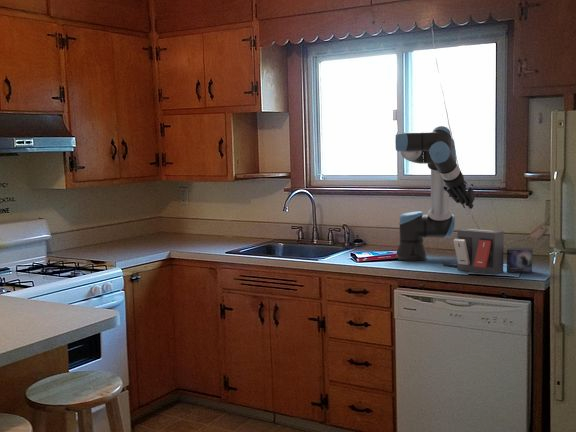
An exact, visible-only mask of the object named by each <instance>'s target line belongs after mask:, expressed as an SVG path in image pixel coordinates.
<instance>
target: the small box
mask: <svg viewBox="0 0 576 432" xmlns="http://www.w3.org/2000/svg"><path fill="white" fill-rule="evenodd" d="M507 272H508V273H507ZM506 273H507V274H509V273H511V274H512V273H513V274H528V275H529V274H531V275H532V274H533V248H532V247H516V246H515V247H513V246H511V247H509V246H508V247H506Z"/></svg>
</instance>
